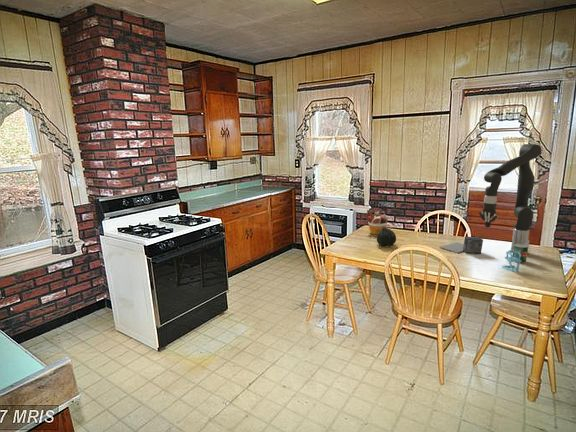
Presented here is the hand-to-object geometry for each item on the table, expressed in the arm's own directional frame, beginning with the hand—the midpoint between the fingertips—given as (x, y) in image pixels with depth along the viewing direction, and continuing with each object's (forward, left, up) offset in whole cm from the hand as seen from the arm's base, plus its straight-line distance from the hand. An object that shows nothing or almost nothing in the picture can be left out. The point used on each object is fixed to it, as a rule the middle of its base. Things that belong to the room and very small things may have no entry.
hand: (487, 227), depth 237 cm
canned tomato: (-18, -9, -21) cm, 29 cm away
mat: (+21, 0, -21) cm, 30 cm away
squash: (+56, +37, -21) cm, 70 cm away
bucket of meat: (+85, +19, -21) cm, 90 cm away
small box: (+9, 0, -21) cm, 23 cm away
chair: (-23, +9, -21) cm, 33 cm away
